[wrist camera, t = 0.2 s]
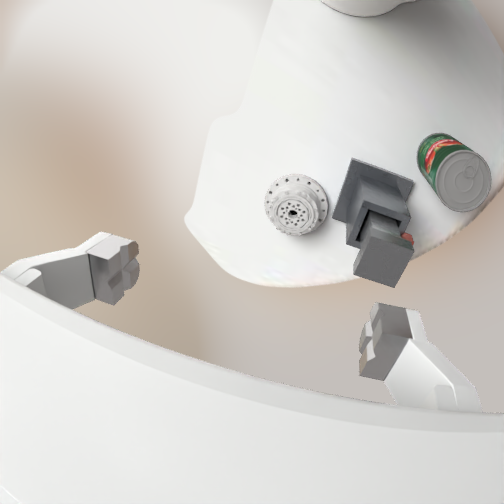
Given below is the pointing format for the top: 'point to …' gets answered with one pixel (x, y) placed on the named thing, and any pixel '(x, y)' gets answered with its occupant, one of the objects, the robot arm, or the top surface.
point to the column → (381, 250)
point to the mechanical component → (296, 204)
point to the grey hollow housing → (372, 199)
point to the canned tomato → (454, 172)
